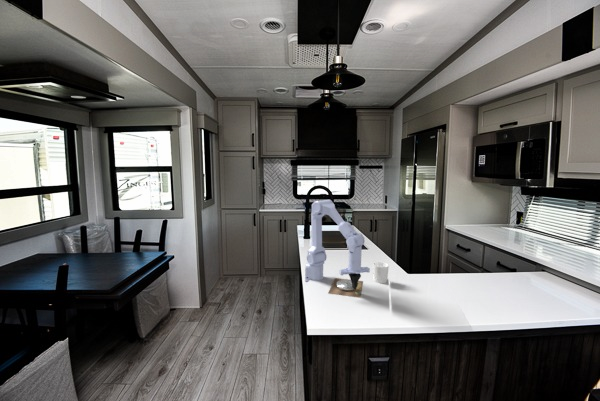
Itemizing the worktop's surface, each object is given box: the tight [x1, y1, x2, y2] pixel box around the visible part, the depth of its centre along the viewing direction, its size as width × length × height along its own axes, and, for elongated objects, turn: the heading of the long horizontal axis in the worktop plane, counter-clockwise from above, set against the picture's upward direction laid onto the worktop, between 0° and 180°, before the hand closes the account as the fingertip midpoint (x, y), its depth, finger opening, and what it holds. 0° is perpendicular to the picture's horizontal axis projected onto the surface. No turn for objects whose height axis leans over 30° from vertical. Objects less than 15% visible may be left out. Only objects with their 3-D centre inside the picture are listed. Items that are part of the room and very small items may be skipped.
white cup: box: [372, 261, 390, 284], centre depth 145 cm, size 8×8×10 cm
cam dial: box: [336, 279, 362, 292], centre depth 135 cm, size 15×10×5 cm
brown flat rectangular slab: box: [327, 277, 364, 299], centre depth 137 cm, size 15×19×2 cm
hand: (354, 288), depth 129 cm, fingers closed
